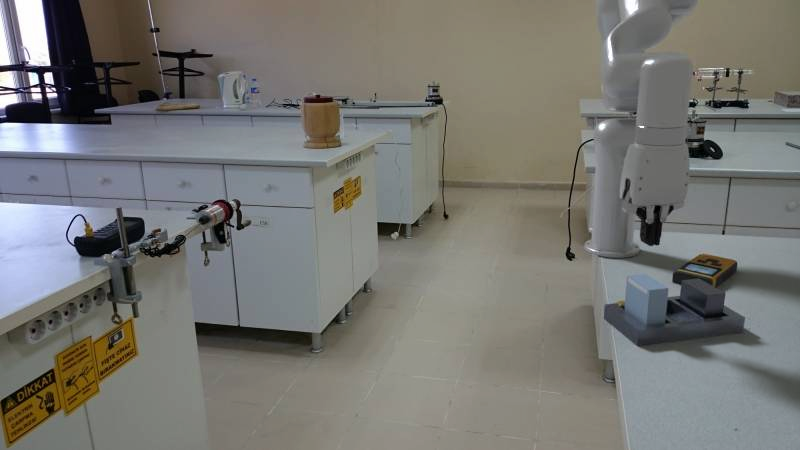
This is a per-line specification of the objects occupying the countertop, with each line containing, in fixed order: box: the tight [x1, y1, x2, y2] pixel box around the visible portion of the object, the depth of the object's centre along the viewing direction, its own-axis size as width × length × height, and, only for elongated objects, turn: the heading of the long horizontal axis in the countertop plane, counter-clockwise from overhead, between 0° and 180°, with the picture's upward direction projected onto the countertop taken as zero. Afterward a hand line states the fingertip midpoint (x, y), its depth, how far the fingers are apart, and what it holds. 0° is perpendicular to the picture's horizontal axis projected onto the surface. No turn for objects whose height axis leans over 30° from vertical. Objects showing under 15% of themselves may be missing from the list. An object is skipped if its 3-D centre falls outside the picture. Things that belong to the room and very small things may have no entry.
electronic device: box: [671, 253, 738, 288], centre depth 130 cm, size 8×16×3 cm, turn 135°
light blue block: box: [624, 273, 669, 326], centre depth 106 cm, size 7×4×8 cm, turn 10°
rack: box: [603, 279, 746, 347], centre depth 108 cm, size 11×20×7 cm, turn 101°
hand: (649, 242), depth 104 cm, fingers closed
